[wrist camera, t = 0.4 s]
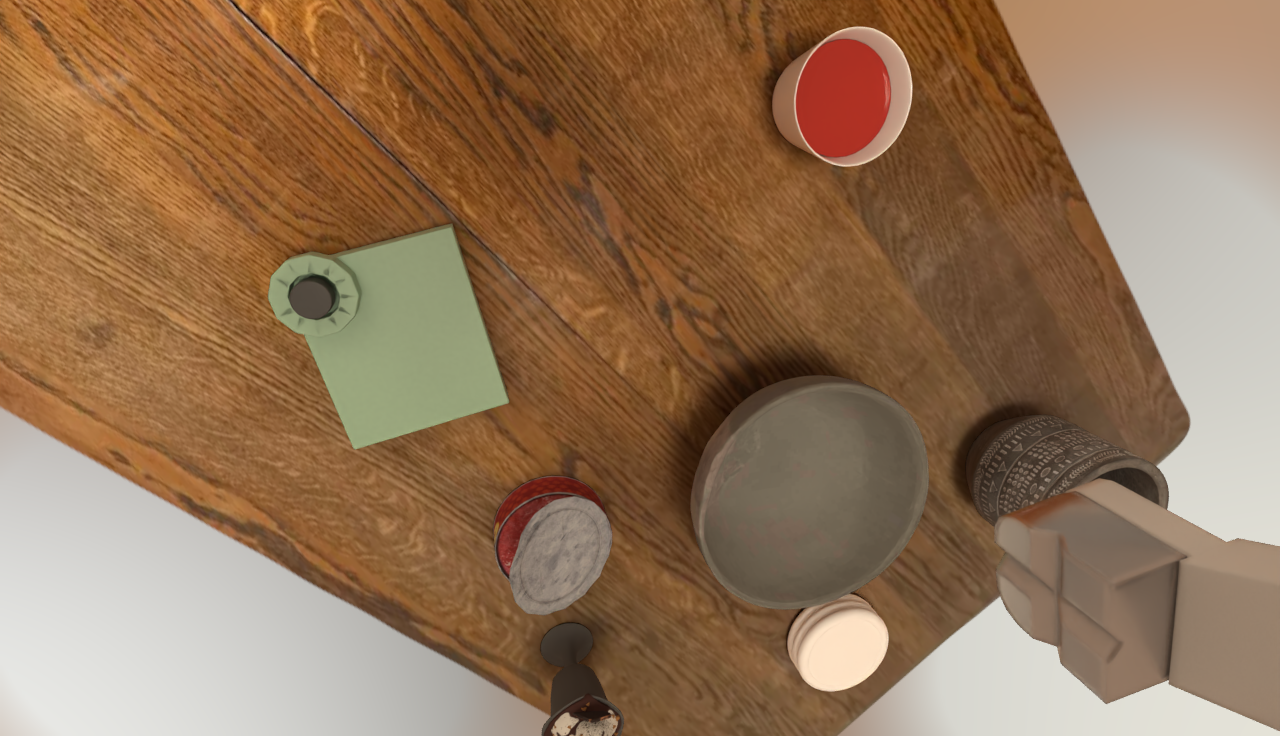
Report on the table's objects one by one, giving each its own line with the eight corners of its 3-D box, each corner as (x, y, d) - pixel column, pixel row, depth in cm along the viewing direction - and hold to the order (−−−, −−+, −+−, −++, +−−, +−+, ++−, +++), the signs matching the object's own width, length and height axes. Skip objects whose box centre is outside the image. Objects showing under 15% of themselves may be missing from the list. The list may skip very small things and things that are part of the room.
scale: (268, 259, 47) (254, 268, 44) (448, 212, 49) (447, 218, 46) (348, 441, 53) (340, 461, 50) (507, 393, 55) (510, 410, 51)
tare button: (287, 282, 45) (282, 287, 44) (326, 272, 46) (323, 276, 44) (303, 319, 46) (298, 324, 45) (341, 308, 47) (338, 313, 45)
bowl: (830, 555, 68) (887, 621, 59) (640, 536, 62) (670, 607, 53) (900, 368, 63) (974, 409, 54) (699, 328, 57) (744, 367, 48)
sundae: (562, 684, 65) (587, 832, 52) (516, 646, 63) (530, 791, 49) (615, 642, 65) (655, 779, 52) (572, 602, 63) (602, 735, 49)
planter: (925, 476, 68) (1021, 548, 56) (1005, 378, 66) (1121, 432, 54) (996, 527, 72) (1098, 604, 61) (1072, 437, 71) (1192, 498, 59)
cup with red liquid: (791, 185, 55) (830, 191, 49) (736, 84, 51) (771, 78, 45) (881, 119, 55) (931, 117, 49) (833, 13, 51) (880, -2, 45)
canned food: (519, 456, 62) (547, 453, 53) (612, 505, 64) (654, 510, 55) (457, 575, 58) (476, 593, 49) (558, 621, 61) (594, 647, 52)
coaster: (786, 679, 72) (801, 704, 69) (784, 603, 69) (799, 626, 66) (871, 655, 74) (889, 679, 71) (873, 581, 71) (892, 602, 67)
